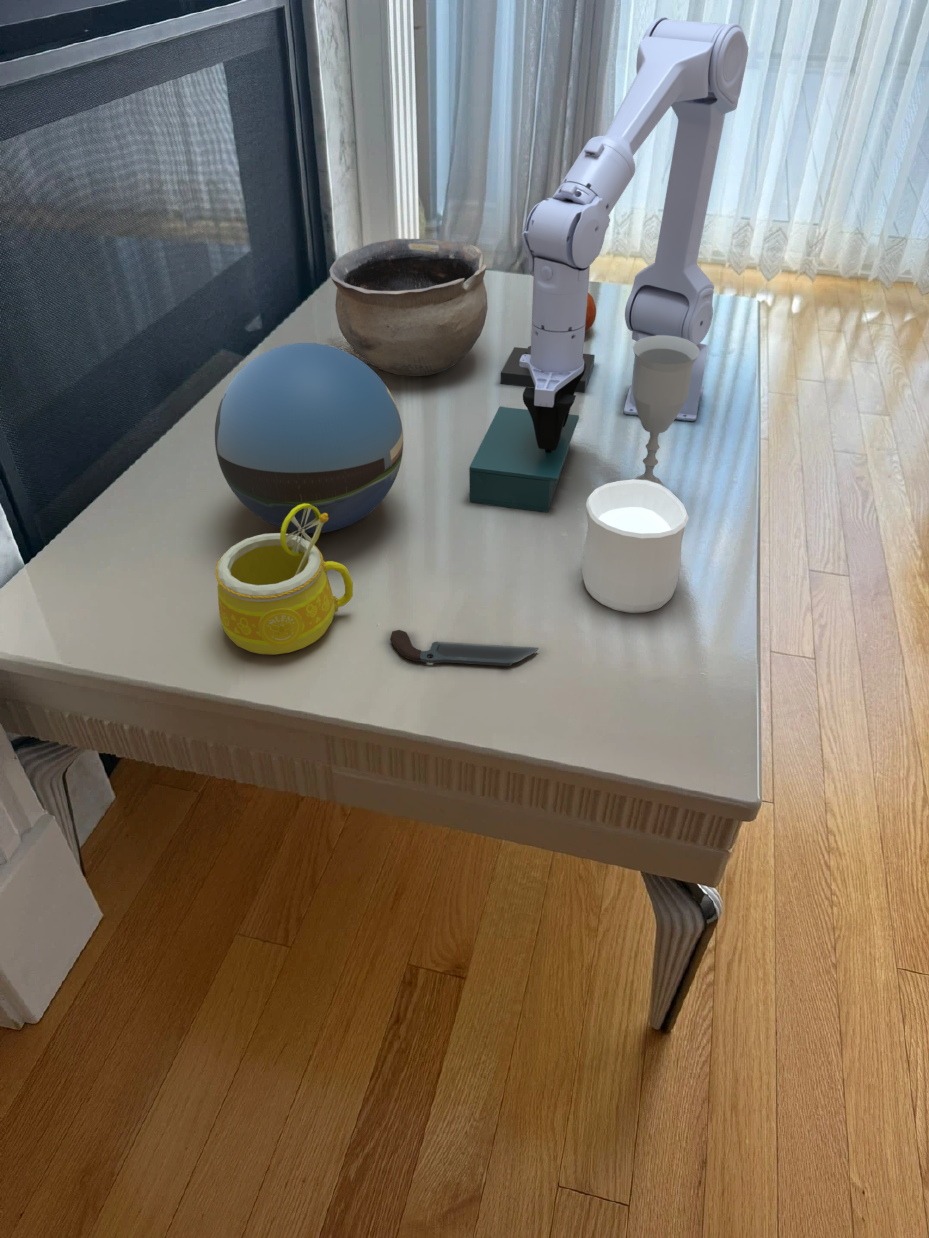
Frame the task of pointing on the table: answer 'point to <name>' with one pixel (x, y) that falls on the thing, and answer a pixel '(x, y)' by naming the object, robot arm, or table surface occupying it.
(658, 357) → the chalice
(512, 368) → the switch base
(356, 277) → the ceramic bowl
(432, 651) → the knife
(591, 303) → the fruit
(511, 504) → the open box
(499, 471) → the teal panel with handle
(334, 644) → the table surface
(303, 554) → the mug
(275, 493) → the decorative sphere
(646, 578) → the cup
